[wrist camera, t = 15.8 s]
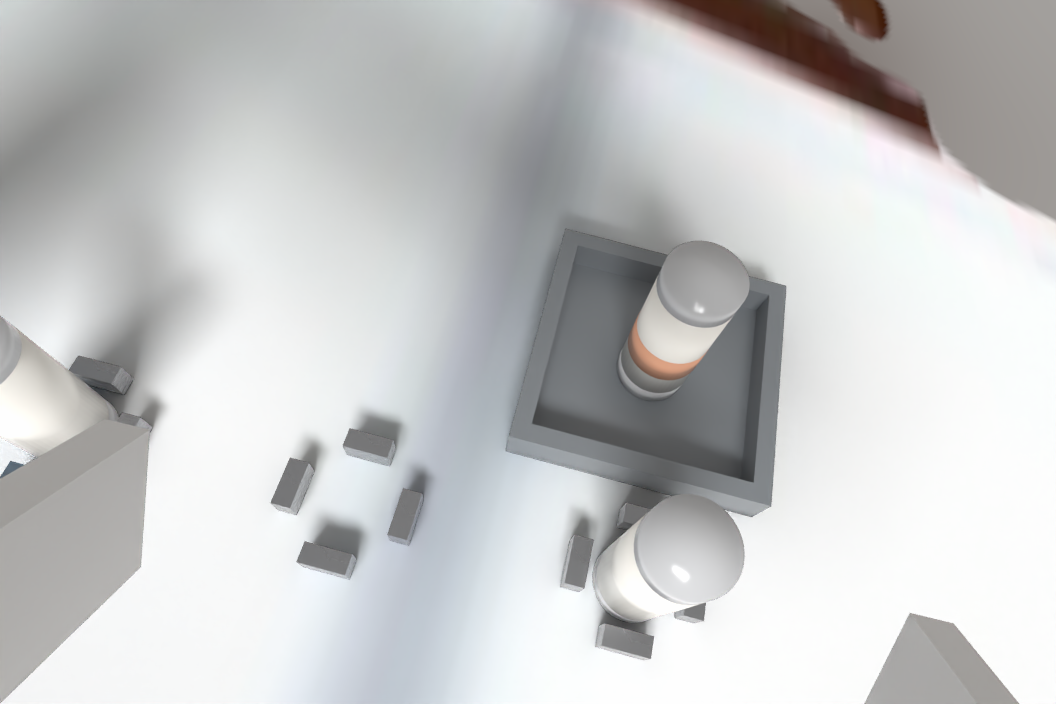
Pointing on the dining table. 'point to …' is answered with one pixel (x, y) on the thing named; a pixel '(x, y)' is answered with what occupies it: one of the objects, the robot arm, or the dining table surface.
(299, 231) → the dining table surface
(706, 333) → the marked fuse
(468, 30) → the dining table surface
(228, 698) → the dining table surface
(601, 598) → the plain fuse
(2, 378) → the plain fuse
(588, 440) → the charcoal tray
